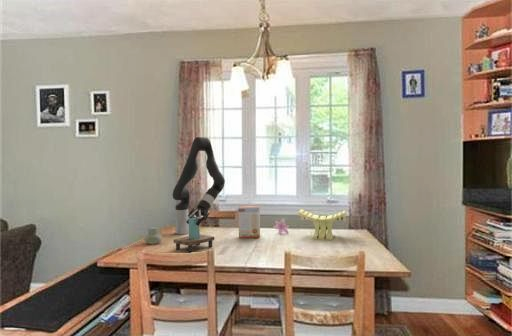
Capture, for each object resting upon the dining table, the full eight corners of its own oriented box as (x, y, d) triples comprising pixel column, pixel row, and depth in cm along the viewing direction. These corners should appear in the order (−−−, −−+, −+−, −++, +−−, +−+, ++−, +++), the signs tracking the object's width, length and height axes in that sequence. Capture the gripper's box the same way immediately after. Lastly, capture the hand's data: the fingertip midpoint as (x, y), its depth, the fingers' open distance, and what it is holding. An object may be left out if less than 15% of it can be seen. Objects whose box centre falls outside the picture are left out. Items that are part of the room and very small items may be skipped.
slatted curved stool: (346, 235, 276) (345, 209, 275) (344, 240, 260) (344, 212, 260) (302, 233, 283) (302, 208, 283) (298, 238, 268) (298, 211, 267)
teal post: (188, 238, 243) (188, 218, 243) (194, 237, 247) (194, 217, 246) (193, 239, 240) (193, 219, 240) (199, 237, 244) (199, 218, 243)
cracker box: (260, 236, 276) (259, 205, 275) (259, 238, 270) (259, 207, 269) (239, 236, 277) (239, 205, 277) (238, 238, 271) (238, 207, 271)
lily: (270, 235, 283) (274, 225, 278) (271, 226, 293) (275, 215, 289) (286, 240, 283) (290, 230, 278) (287, 231, 293) (291, 220, 289)
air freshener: (143, 245, 253) (143, 229, 253) (145, 242, 261) (145, 227, 261) (161, 244, 255) (161, 228, 254) (162, 241, 263) (162, 226, 263)
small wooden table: (173, 249, 240) (173, 239, 240) (198, 243, 256) (198, 234, 256) (189, 252, 231) (189, 242, 231) (214, 246, 247) (214, 236, 247)
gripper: (194, 198, 253) (181, 219, 244) (210, 200, 244) (196, 221, 235) (201, 206, 257) (187, 226, 249) (217, 207, 248) (203, 229, 240)
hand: (192, 224), depth 242 cm, fingers open, 8 cm apart
